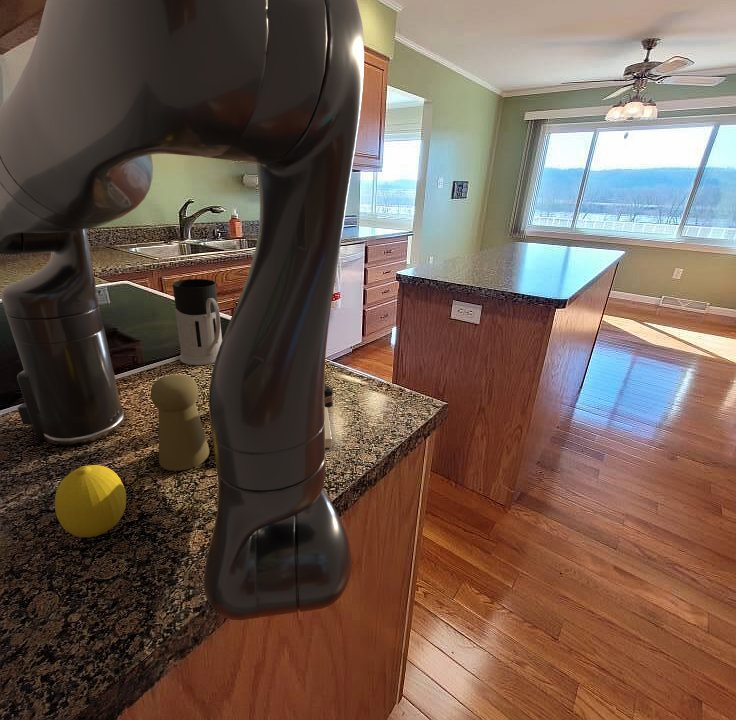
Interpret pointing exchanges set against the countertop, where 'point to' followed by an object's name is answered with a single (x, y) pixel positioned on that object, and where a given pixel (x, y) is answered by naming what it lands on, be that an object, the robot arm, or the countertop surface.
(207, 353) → the glass holder
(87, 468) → the lemon
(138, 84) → the robot arm
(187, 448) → the cork
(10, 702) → the countertop surface
